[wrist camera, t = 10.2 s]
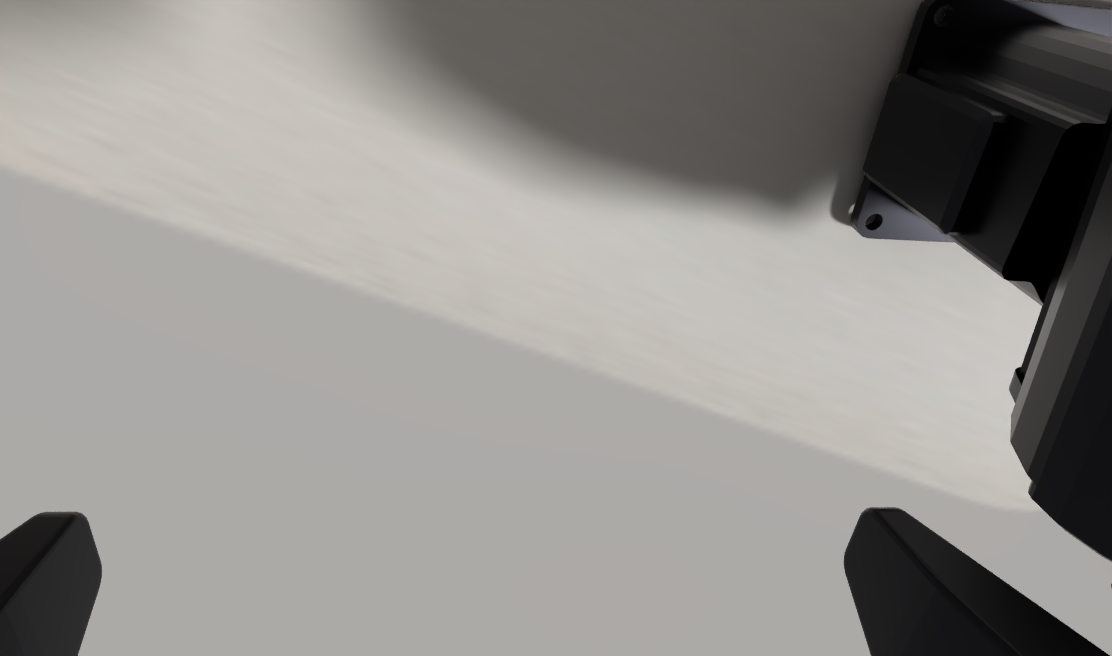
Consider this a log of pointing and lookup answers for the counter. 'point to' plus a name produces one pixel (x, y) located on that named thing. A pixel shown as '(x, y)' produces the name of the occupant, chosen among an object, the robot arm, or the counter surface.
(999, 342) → the counter surface
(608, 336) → the counter surface
